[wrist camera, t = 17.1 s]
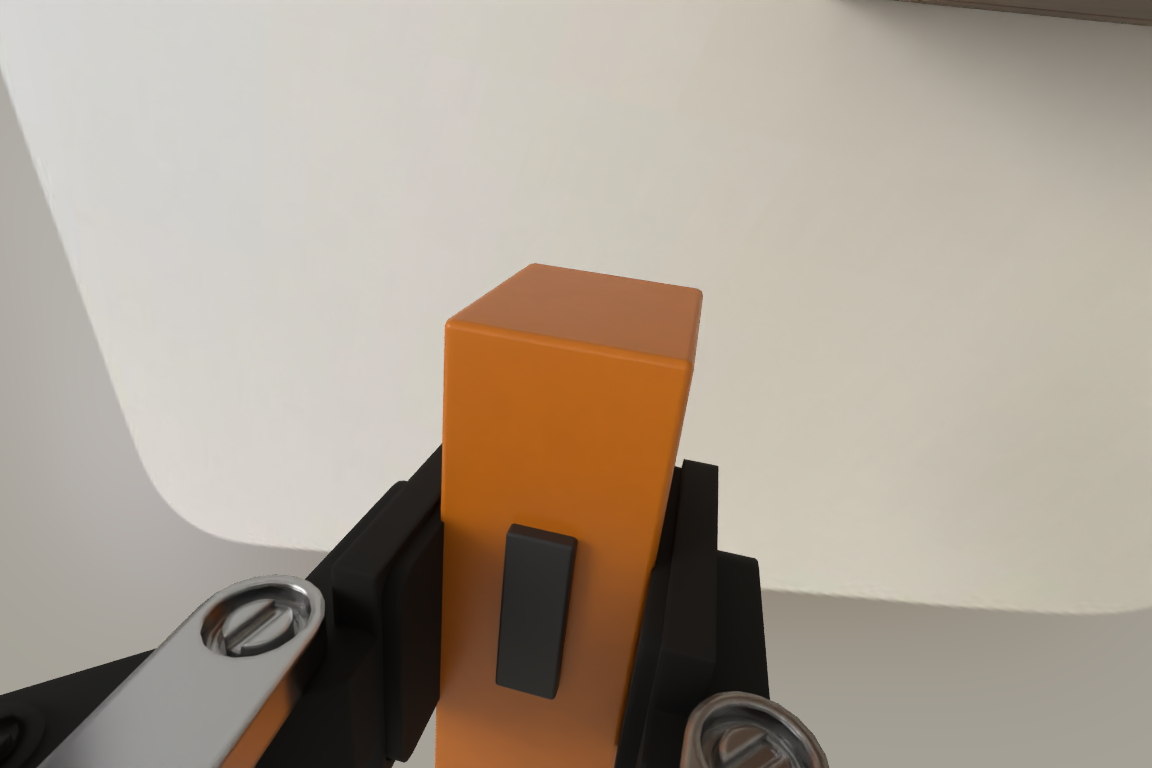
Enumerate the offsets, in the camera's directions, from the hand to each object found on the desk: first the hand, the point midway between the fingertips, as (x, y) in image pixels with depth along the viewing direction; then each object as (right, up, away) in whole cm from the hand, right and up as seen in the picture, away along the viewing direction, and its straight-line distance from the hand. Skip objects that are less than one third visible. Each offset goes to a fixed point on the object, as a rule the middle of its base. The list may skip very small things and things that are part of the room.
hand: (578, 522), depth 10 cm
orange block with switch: (0, 0, +1) cm, 1 cm away
